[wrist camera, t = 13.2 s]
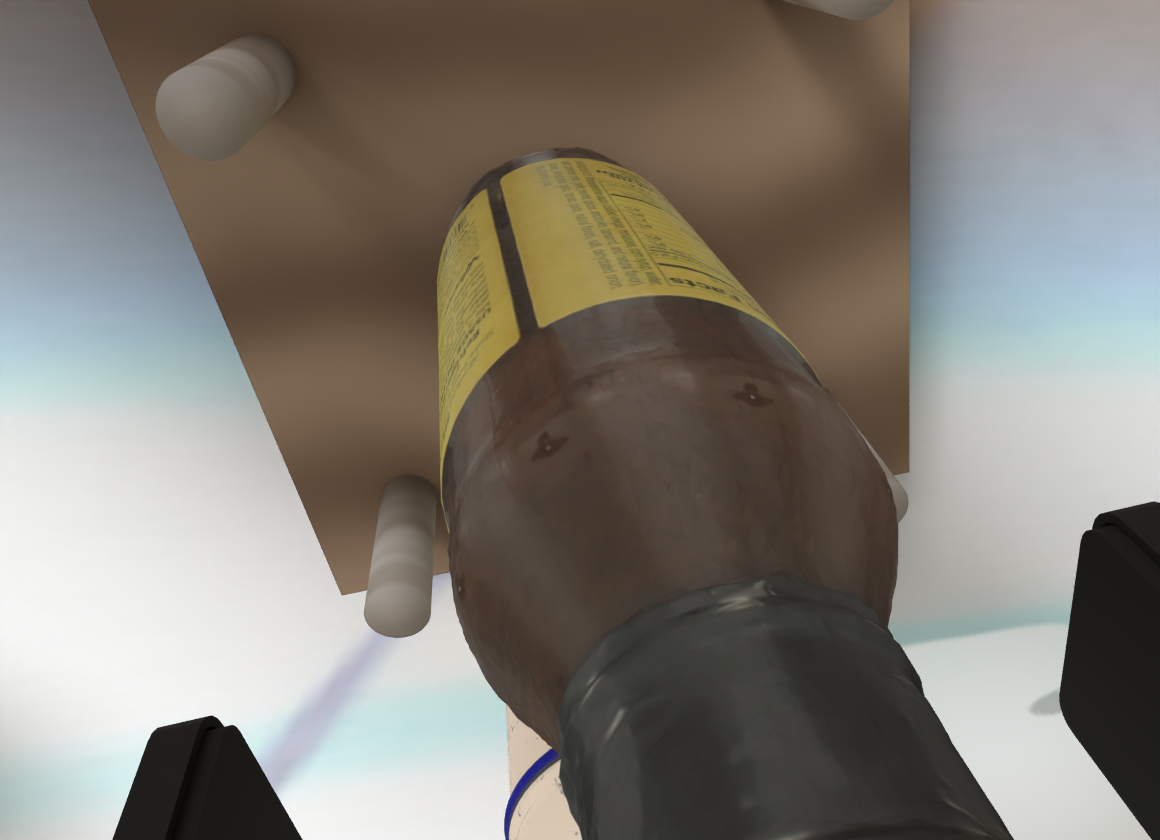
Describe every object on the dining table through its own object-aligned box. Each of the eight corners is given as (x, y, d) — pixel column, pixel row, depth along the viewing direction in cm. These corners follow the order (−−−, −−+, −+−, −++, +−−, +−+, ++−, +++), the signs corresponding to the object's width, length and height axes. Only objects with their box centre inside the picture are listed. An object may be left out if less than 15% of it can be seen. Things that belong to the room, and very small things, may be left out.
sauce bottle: (523, 406, 25) (666, 1481, 8) (389, 222, 22) (147, 1304, 5) (725, 289, 24) (1395, 1230, 7) (613, 79, 21) (1304, 816, 4)
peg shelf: (137, -55, 23) (-53, -35, 14) (834, -207, 23) (1042, -275, 14) (357, 511, 32) (318, 721, 23) (855, 403, 32) (990, 575, 23)
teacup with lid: (465, 688, 36) (464, 985, 26) (546, 514, 33) (580, 784, 23) (723, 742, 40) (810, 1024, 30) (824, 590, 36) (963, 855, 26)
